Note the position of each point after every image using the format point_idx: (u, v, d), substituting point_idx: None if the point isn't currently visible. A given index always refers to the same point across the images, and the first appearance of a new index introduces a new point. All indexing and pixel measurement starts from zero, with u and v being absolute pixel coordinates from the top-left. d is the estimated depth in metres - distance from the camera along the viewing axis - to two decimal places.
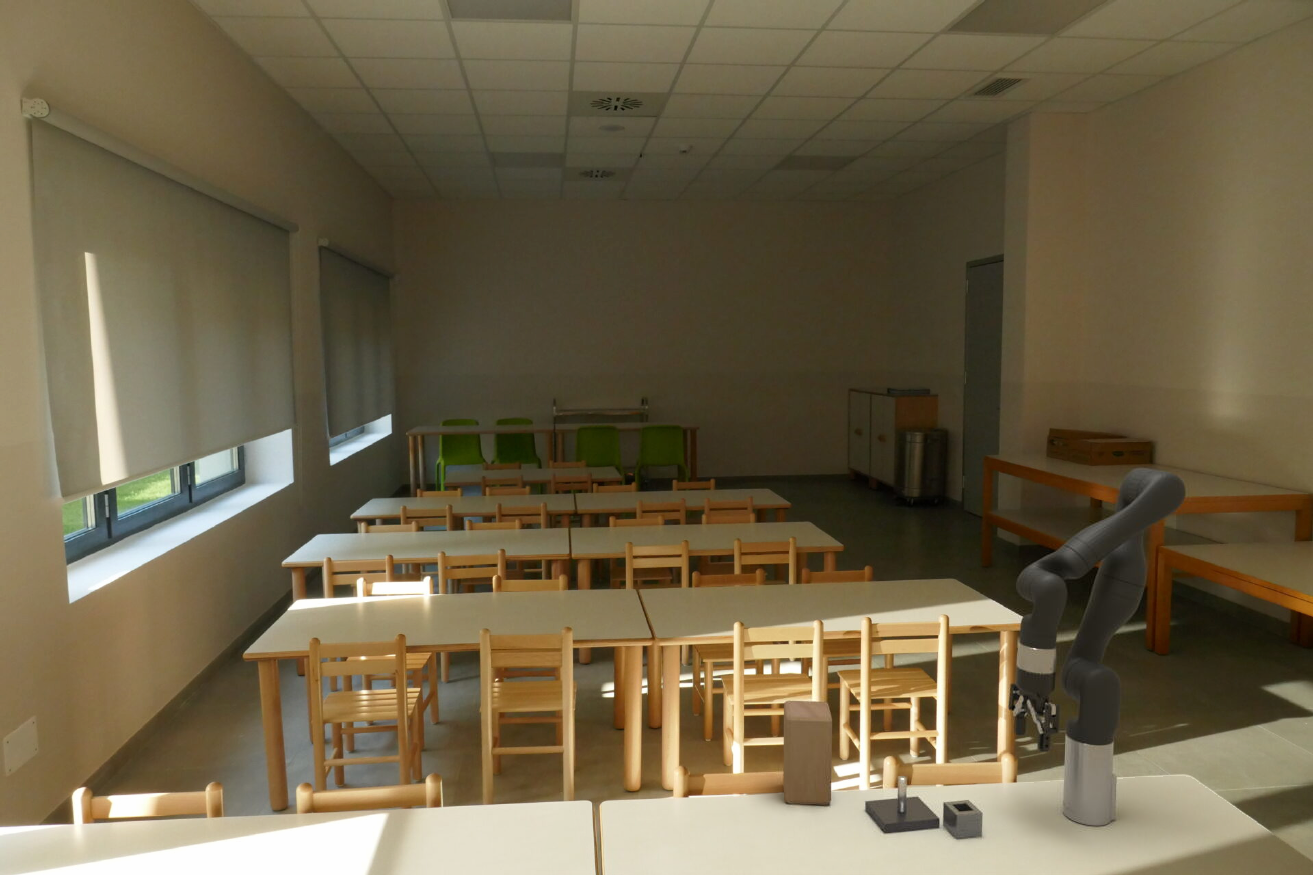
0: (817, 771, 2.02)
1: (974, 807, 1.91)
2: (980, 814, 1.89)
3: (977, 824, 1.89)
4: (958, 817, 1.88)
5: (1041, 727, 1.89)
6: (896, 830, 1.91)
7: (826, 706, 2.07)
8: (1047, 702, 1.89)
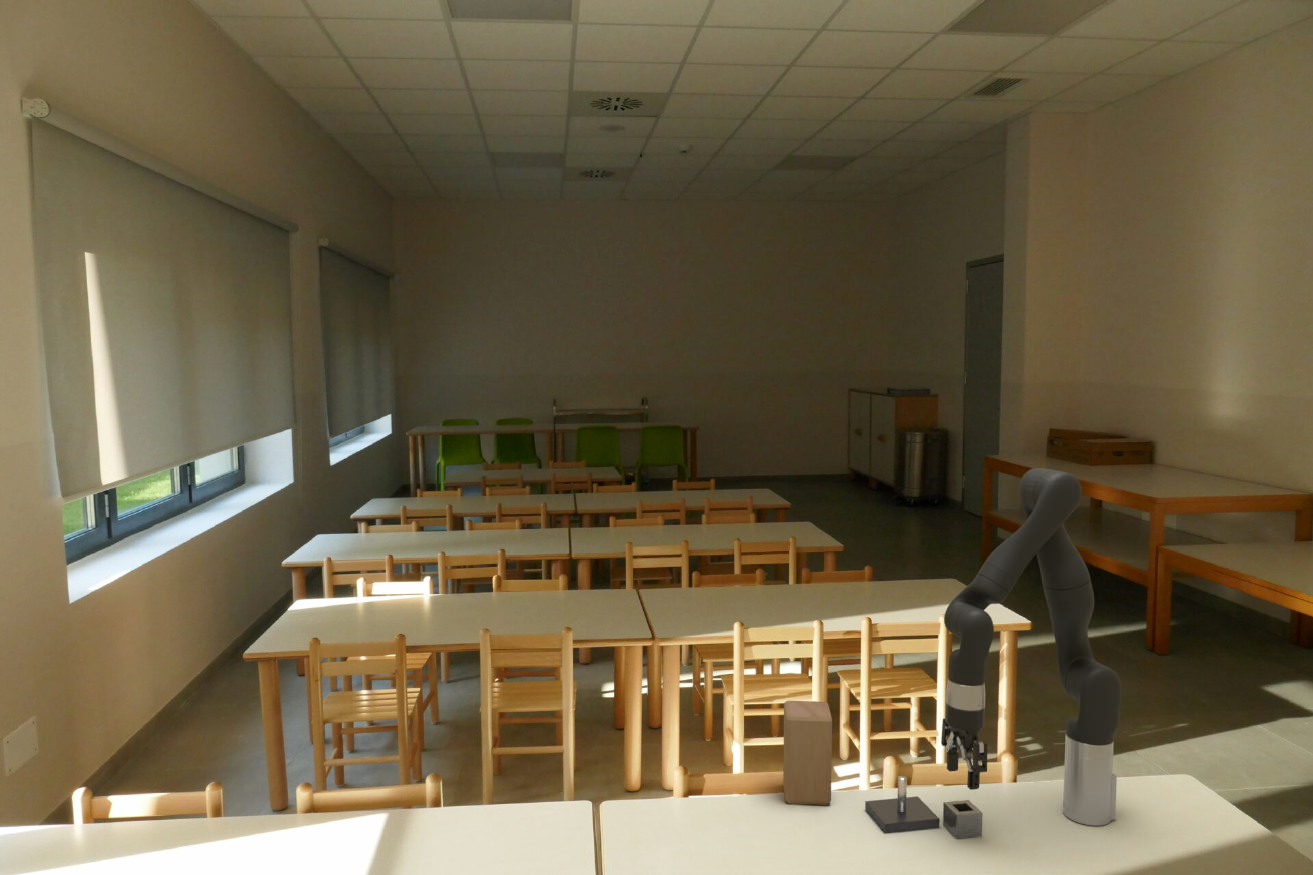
0: (817, 771, 2.02)
1: (974, 807, 1.91)
2: (980, 814, 1.89)
3: (977, 824, 1.89)
4: (958, 817, 1.88)
5: (970, 765, 1.85)
6: (896, 830, 1.91)
7: (826, 706, 2.07)
8: (976, 739, 1.86)
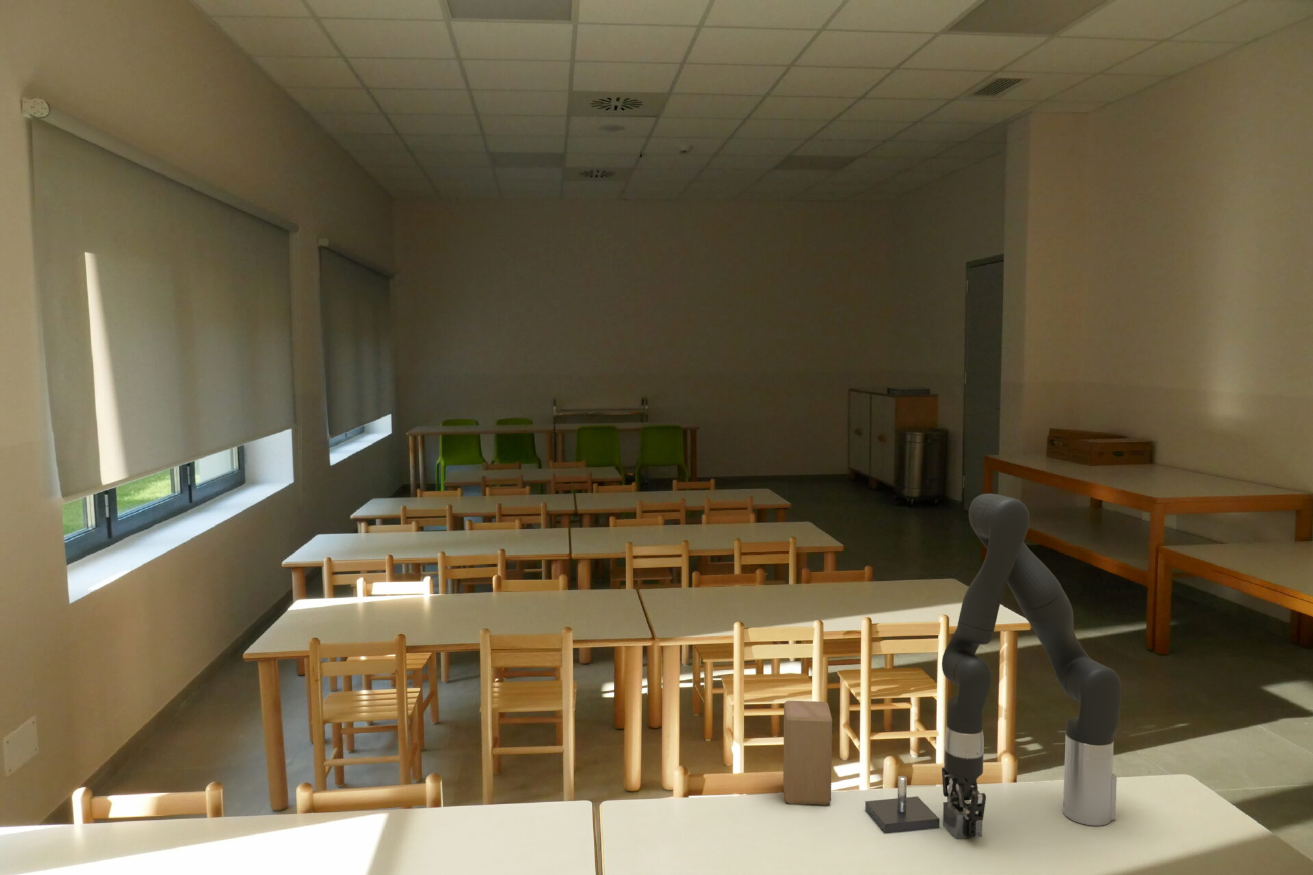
0: (817, 771, 2.02)
1: None
2: None
3: (977, 824, 1.89)
4: (958, 817, 1.88)
5: (967, 814, 1.87)
6: (896, 830, 1.91)
7: (826, 706, 2.07)
8: (975, 789, 1.86)
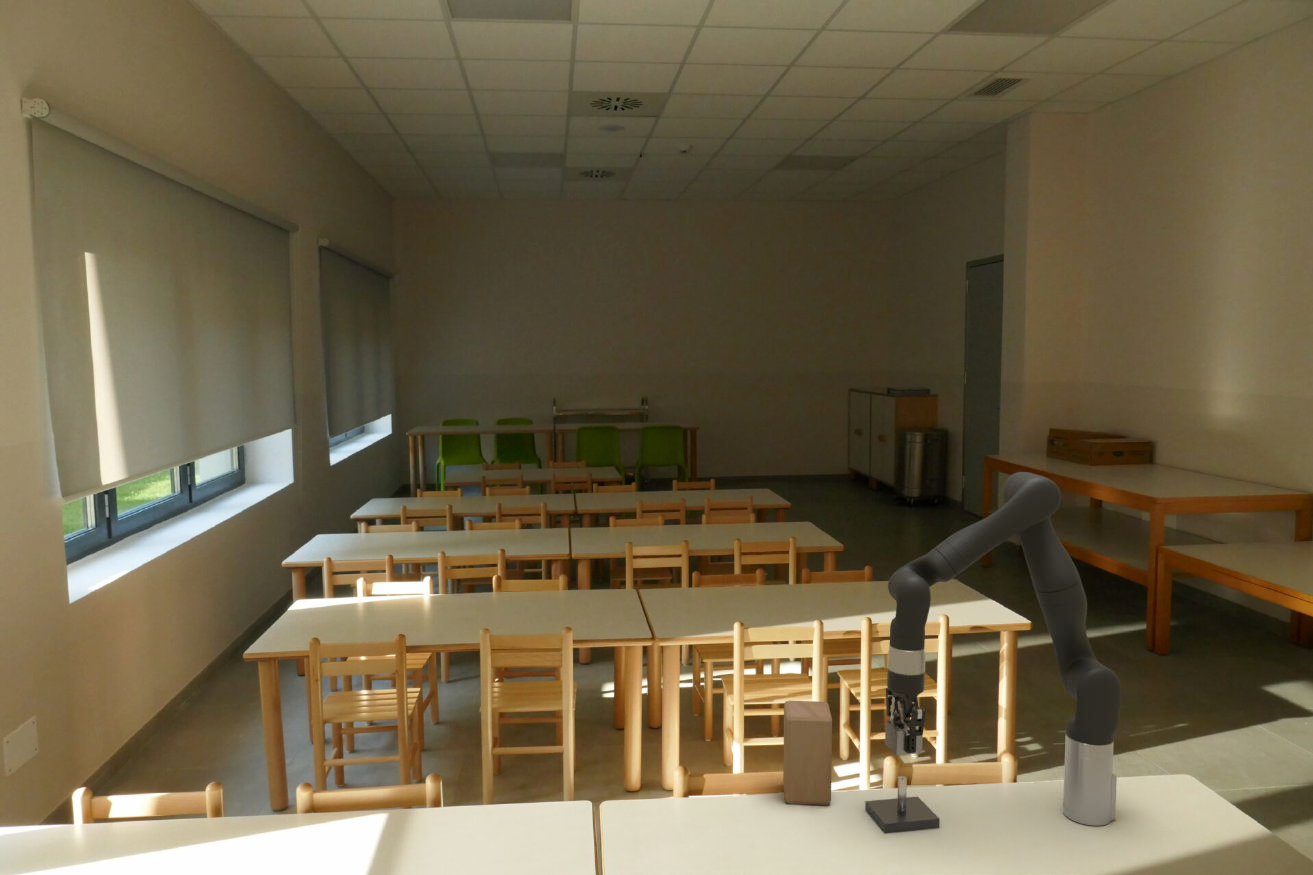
0: (817, 771, 2.02)
1: None
2: None
3: (917, 741, 1.92)
4: (899, 733, 1.92)
5: (907, 730, 1.91)
6: (896, 830, 1.91)
7: (826, 706, 2.07)
8: (915, 705, 1.90)
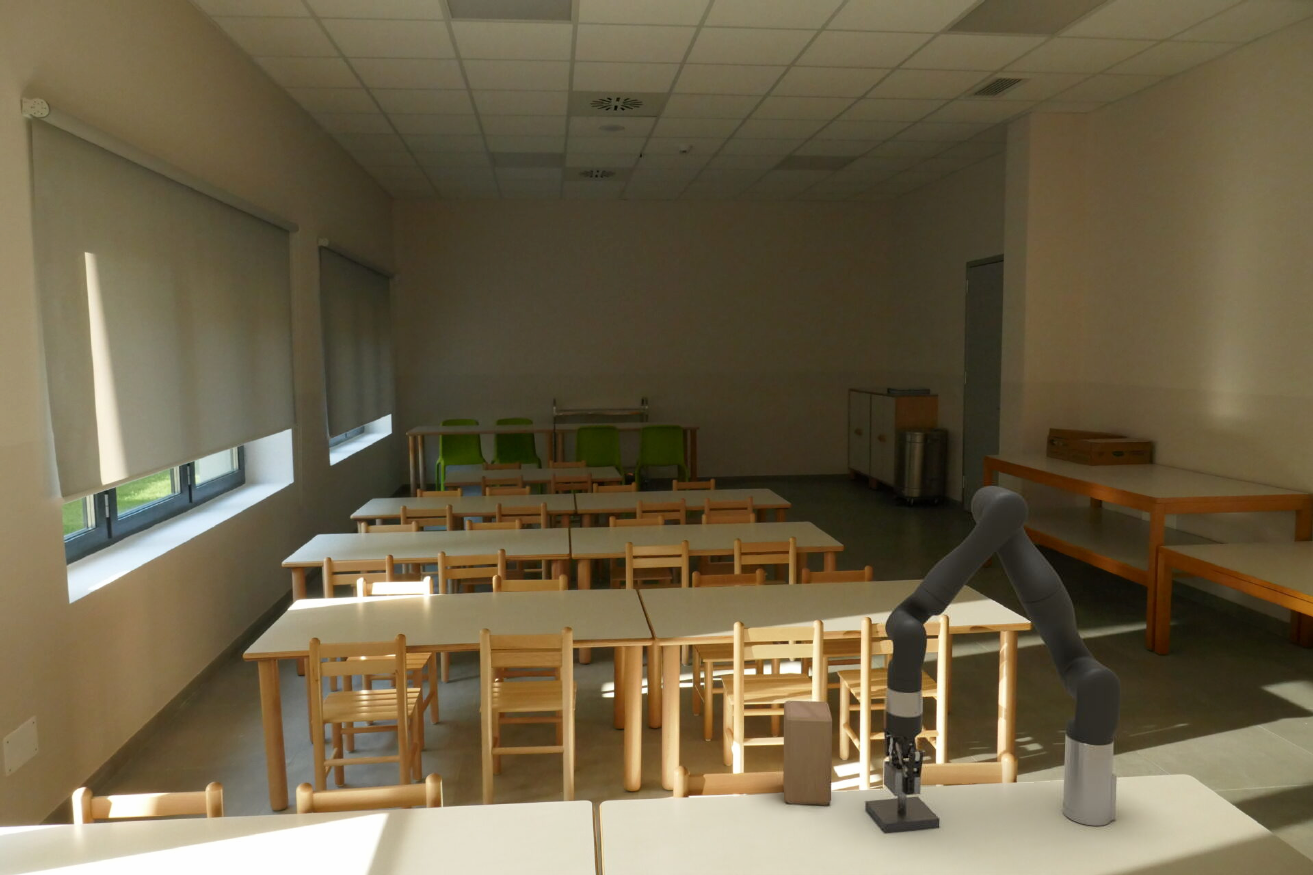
0: (817, 771, 2.02)
1: None
2: None
3: (916, 782, 1.94)
4: (897, 775, 1.93)
5: (905, 771, 1.92)
6: (896, 830, 1.91)
7: (826, 706, 2.07)
8: (913, 747, 1.91)
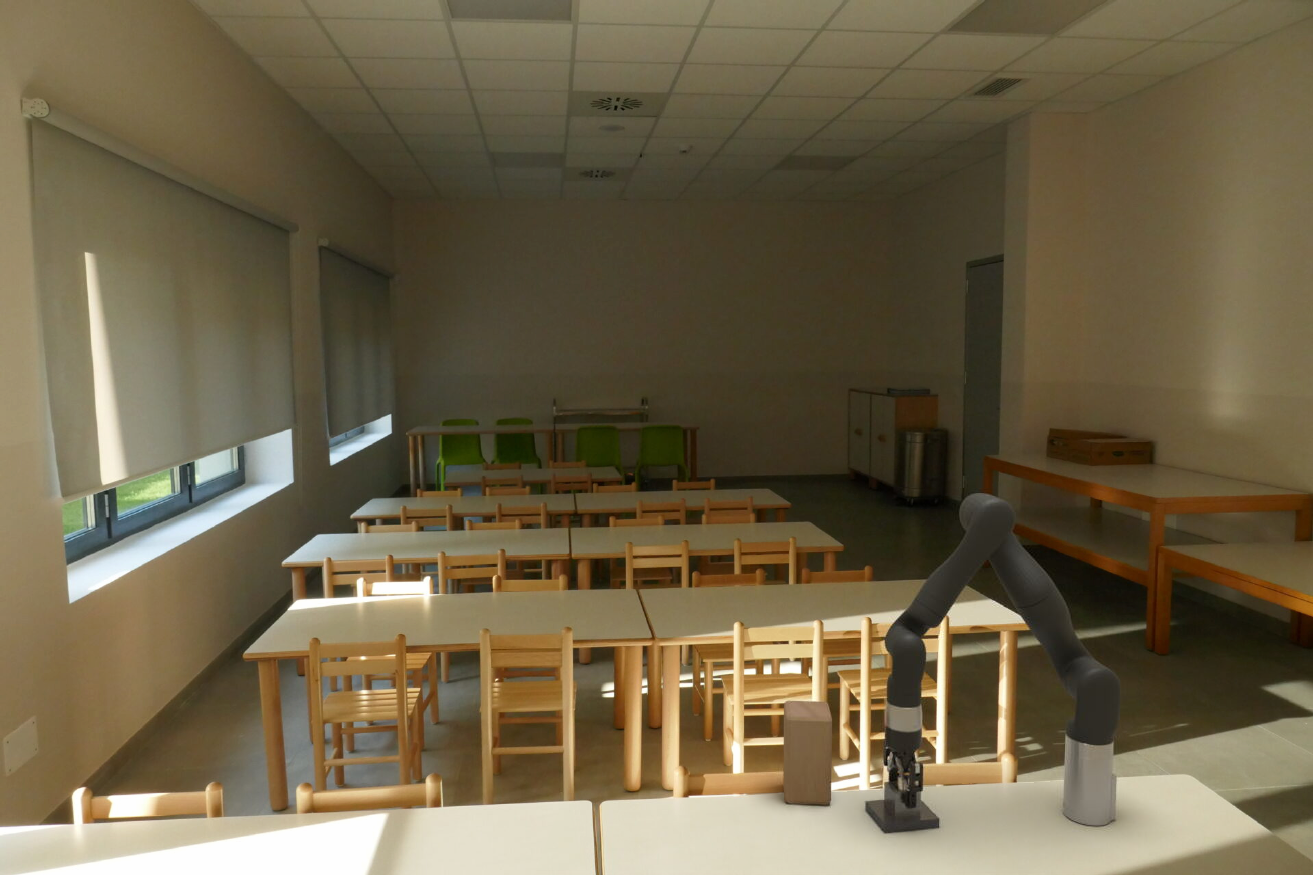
0: (817, 771, 2.02)
1: None
2: (919, 793, 1.94)
3: (916, 803, 1.94)
4: (897, 796, 1.93)
5: (907, 785, 1.91)
6: (896, 830, 1.91)
7: (826, 706, 2.07)
8: (913, 760, 1.91)
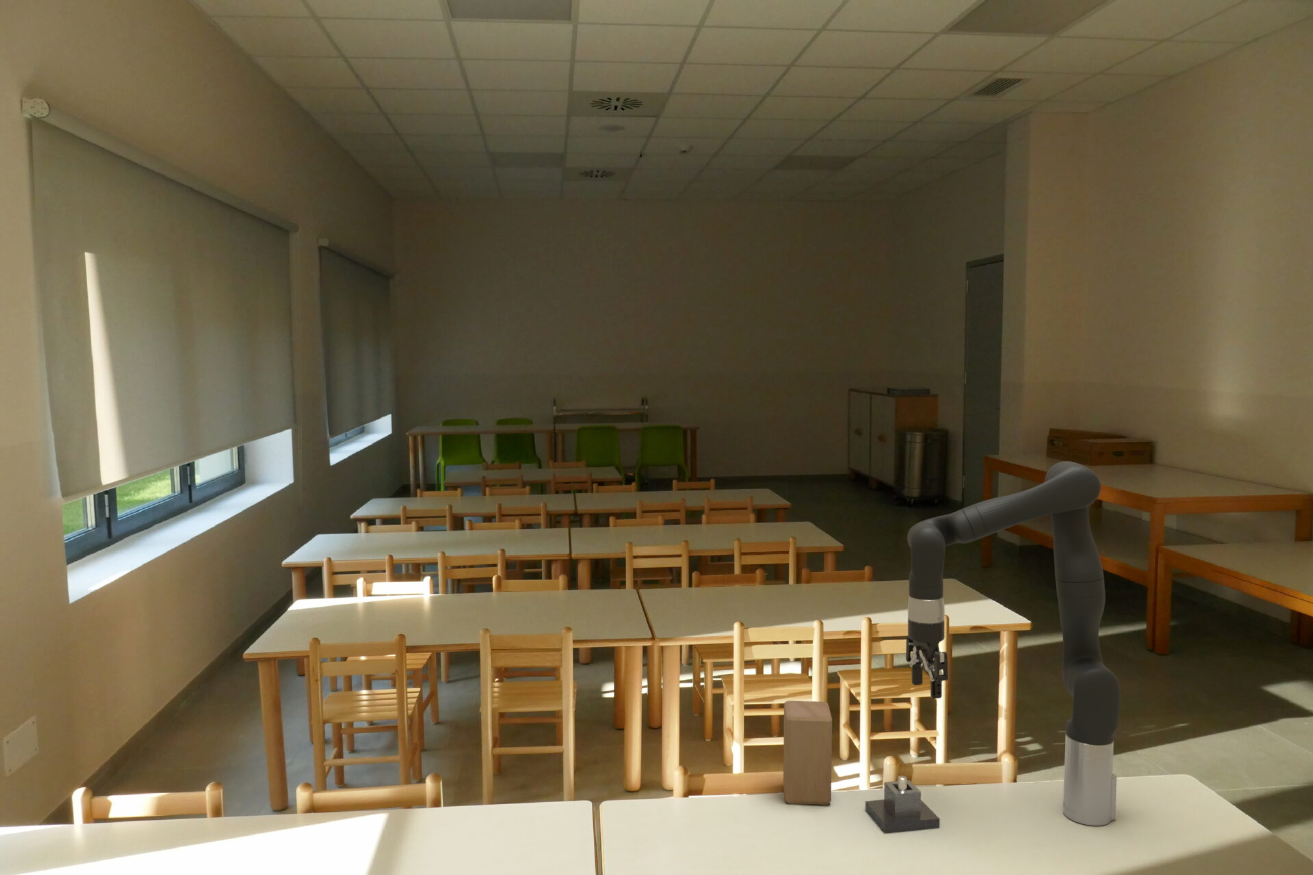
0: (817, 771, 2.02)
1: (913, 787, 1.96)
2: (919, 793, 1.94)
3: (916, 803, 1.94)
4: (897, 796, 1.93)
5: (932, 675, 1.95)
6: (896, 830, 1.91)
7: (826, 706, 2.07)
8: (936, 650, 1.95)
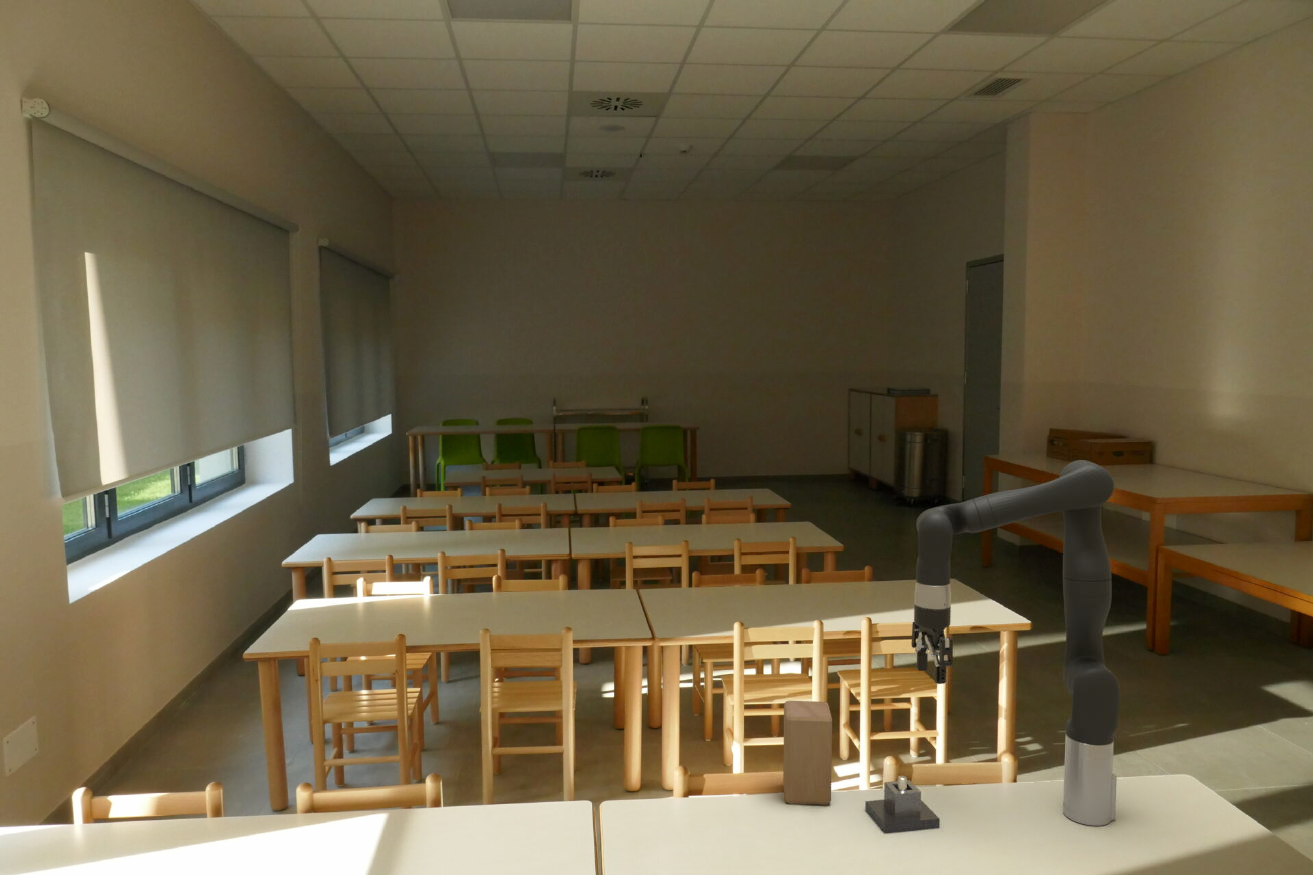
0: (817, 771, 2.02)
1: (913, 787, 1.96)
2: (919, 793, 1.94)
3: (916, 803, 1.94)
4: (897, 796, 1.93)
5: (937, 660, 1.97)
6: (896, 830, 1.91)
7: (826, 706, 2.07)
8: (942, 636, 1.97)
